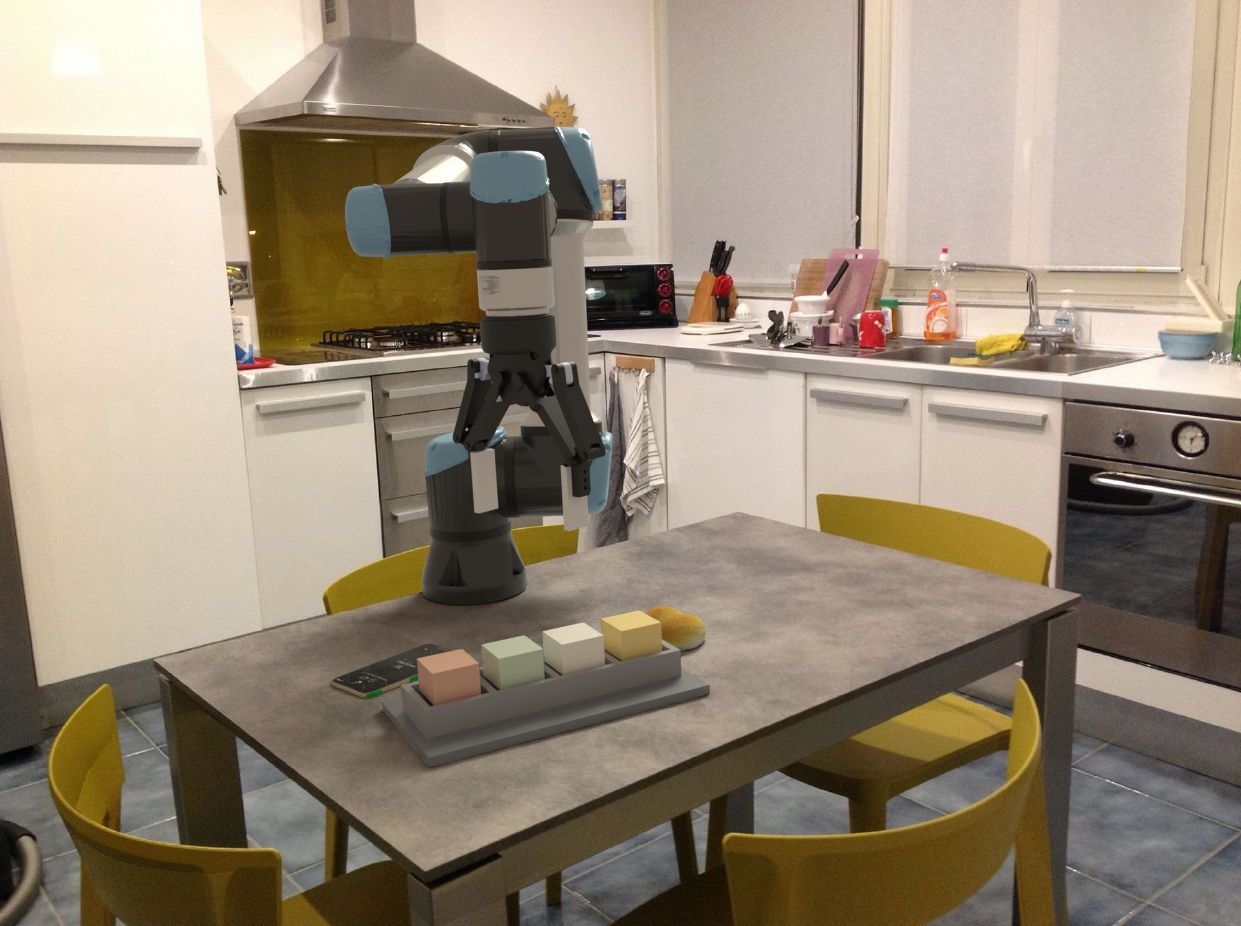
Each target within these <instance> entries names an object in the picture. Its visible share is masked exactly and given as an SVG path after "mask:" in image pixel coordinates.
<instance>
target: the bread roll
mask: <svg viewBox="0 0 1241 926" xmlns="http://www.w3.org/2000/svg"><path fill="white" fill-rule="evenodd" d="M644 613H645V614H647V615H649V616H650V617H652V618H654V619H656V620H658V621H659V622H661V633H662V640H664V641H666V642H668V643H669V644H671V645H673V646H674V647H676V648H678V649H680V650H681V651H686V650H687V651H688V650H692V649H695V648H697V647H699V646H700V645H701V644H702V643H703V642H704V640H705V639H706V632H707V631H706V630H707V629H706V626H705V623H704V622H703V620H702V619H701V618H699V616H696V615H693V614H688V613H684V612H682V611H680V610H679V609H677V608H674V607H671V606H657V607H652V608H651V609H649V610H647V611H645V612H644Z"/></svg>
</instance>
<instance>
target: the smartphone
mask: <svg viewBox="0 0 1241 926" xmlns="http://www.w3.org/2000/svg"><path fill="white" fill-rule="evenodd" d="M450 651H453V650H452V649H448V648H446V647H442V646H439V645H435V644H432V643H426V644H425V643H424V644H422V645H419V646H416V647H413V648H410V649H407V650H405V651H403V652H400V653H398V654H395V655H392V656H390V657H387V658H385V659H382V660H379V661H376V662H374V663H370V664H369V665H366V666H363V667H361V668H358V669H356V670H353V671H350V672H347V673H345V674H342V675H340V676H339V675H338V676H337V677H334V678H333V679H332V680H331V682H330V685H331V686H332V687H334V688H337V689H339V690H342V691H344V692H347V693H350V694H352V695H355V696H358V697H360V698H363V699H372V698H375V697H378V696H380V695H383V694H384V693H387V692H388V691H389V692H390V691H391V690H395V689H397V688H399V687H400V686H401V685H403V684H407V683H412V682H416V681H418V680H419V679H418V667H417V658H422V657H426V656H431V655H436V654H440V653H445V652H450Z"/></svg>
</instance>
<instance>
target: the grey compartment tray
mask: <svg viewBox="0 0 1241 926" xmlns="http://www.w3.org/2000/svg"><path fill="white" fill-rule="evenodd" d="M681 651H682V650H680V649H678V648H676V647H674V646H673V645H671V644H669V643H668V642H666V641H664V640H662V652H658V653H653V654H649V655H645V656H641V657H637V658H632V659H628V660H624V661H621V660H620V659H618V658H617V657H615V656H614V655H612V654H611V653H609V652H608V651H606V650H604V654H605V665H603V666H599V667H595V668H590V669H586V670H582V671H578V672H574V673H569V674H565V675H562V674H561V673H559V672H558V671H557V670H555V669H554V668H553V667H551V666H550V665H549V664H547V663H546V662H545V661H544V675H545V679H544V680H540V681H536V682H531V683H527V684H523V685H519V686H515V687H510V688H506V689H502V690H500V689H499V688H497V687H496V686H495V685H494V684H493V683H492V682H491V681H490V680H488V679H487V678H486V677H485V676H484V674H483V666H479V672H480V686H481V695H477V696H473V697H468V698H464V699H460V700H456V701H452V702H447V703H443V704H439V705H435V706H434V705H433V704H432V703H431V702H430V701H429V700H428V699H427V698H426V696H425V695H424V694H423V693H422V692H421V691H420V690H419V680H415V681H412V682H409V683H406V684H403V685H401V687H400V689H401V696H399V697H395V698H389V699H386V700H381V710H382V712H383V713H384V714H385V715H386V716H387V717H388V718H389V720H390V721H391V722H392V723H393V725H394V726H395V727H396V729H397V730H398V731H399V732H400V733H401V734H402V736H403V737H404V738H405V739H406V740H407V742H408V743H409V744H410V745H411V747H413V749H414V750H415V751H416V753H417V754H418V755H419V756H420V757H421V758H422V759H421V760H423V761H424V762H425V764H426V765H427V766H428V767H429V768H431V767H435V766H440V765H443V764H447V763H449V762H451V763H452V762H455V761H458V760H462V759H467V758H469V757H472V756H473V757H474V756H477V755H481V754H485V753H489V752H492V751H493V752H494V751H496V750H500V749H503V748H507V747H510V746H515V745H518V744H523V743H526V742H531V741H534V740H538V739H542V738H545V737H550V736H552V735H557V734H561V733H564V732H568V731H571V730H572V731H573V730H576V729H579V728H584V727H587V726H591V725H592V726H593V725H595V724H598V723H602V722H603V723H604V722H607V721H610V720H614V719H618V718H621V717H626V716H630V715H632V714H637V713H640V712H644V711H648V710H652V709H656V708H659V707H662V706H667V705H671V704H675V703H679V702H683V701H687V700H690V699H695V698H698V697H702V696H705V695H709V694H710V693H711V687H710V686H711V684H709V683H708V682H706V681H704V680H702V679H701V678H699V677H698V676H696V675H694V674H693V673H692V672H689V670H686V669H684V668H683V667H682V656H681V655H682V654H681ZM543 659H544V652H543Z"/></svg>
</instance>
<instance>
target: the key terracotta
mask: <svg viewBox="0 0 1241 926" xmlns="http://www.w3.org/2000/svg"><path fill="white" fill-rule="evenodd" d="M417 667H418V679H417V680H418V681H419V690H420V691H421V692H422V693H423V694H424V695H425V696H426V698H427V699H428V700H429V701H430V702H431V703H432V704H433V705H434V706H435V705H439V704H443V703H447V702H452V701H456V700H460V699H464V698H468V697H473V696H477V695H481V686H480V672H479V667H480V664H479V662H478V661H477V660H476V659H475V658H473V657H472V656H471V654H469V653H467V652H466V651H465V650H464V649H463V648H461V649H455V650H452V651H450V652H445V653H440V654H436V655H431V656H426V657H422V658H417Z"/></svg>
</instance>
